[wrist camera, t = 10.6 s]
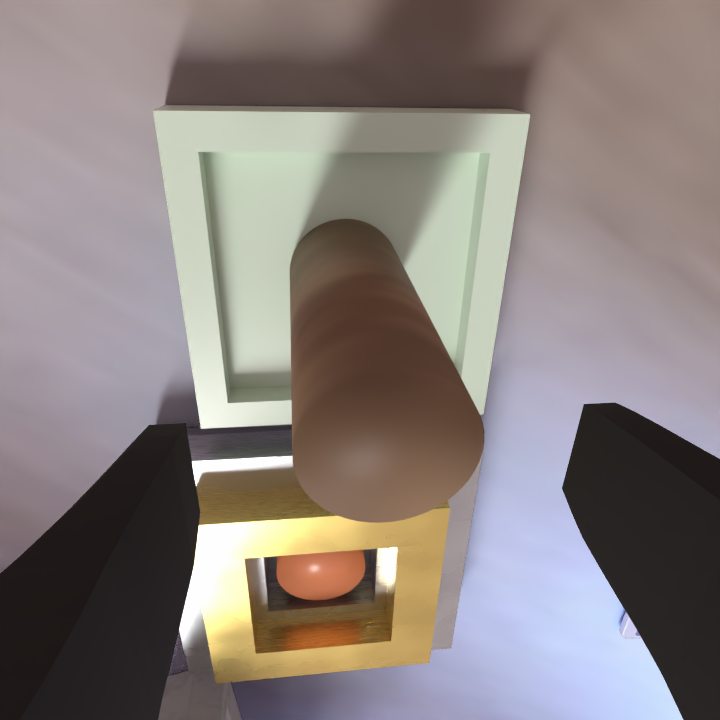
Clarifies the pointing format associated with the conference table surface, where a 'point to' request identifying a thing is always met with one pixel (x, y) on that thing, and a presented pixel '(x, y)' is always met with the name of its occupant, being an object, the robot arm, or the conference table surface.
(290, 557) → the button
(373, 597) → the panel
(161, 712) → the geiger counter
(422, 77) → the conference table surface
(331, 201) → the tray
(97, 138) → the conference table surface
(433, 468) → the dowel
